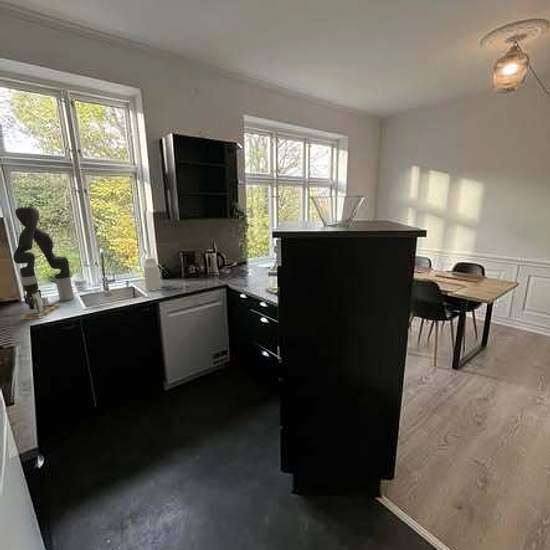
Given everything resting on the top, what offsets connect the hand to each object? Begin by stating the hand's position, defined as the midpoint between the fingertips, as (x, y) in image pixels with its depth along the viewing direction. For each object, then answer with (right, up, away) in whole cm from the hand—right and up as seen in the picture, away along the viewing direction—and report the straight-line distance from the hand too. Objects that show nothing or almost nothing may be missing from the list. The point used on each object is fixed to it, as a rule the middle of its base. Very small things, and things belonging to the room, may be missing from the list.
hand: (35, 307), depth 199 cm
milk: (+55, +9, +58) cm, 80 cm away
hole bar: (-1, -4, +7) cm, 8 cm away
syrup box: (0, -5, +1) cm, 5 cm away
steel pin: (-1, -3, +12) cm, 12 cm away
